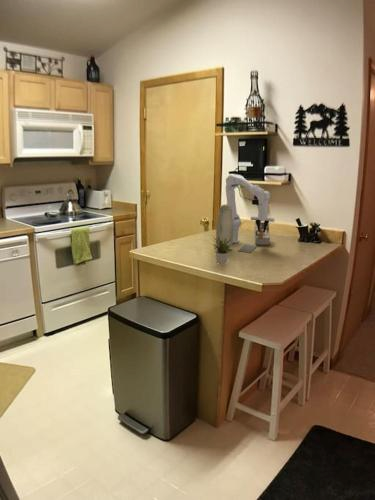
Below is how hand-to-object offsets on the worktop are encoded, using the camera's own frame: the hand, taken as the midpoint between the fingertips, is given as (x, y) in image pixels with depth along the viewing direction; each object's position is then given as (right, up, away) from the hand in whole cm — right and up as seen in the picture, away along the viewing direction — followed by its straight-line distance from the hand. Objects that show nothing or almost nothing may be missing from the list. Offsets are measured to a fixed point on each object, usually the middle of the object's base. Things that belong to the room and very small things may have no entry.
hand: (261, 232), depth 253 cm
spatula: (0, -2, +1) cm, 2 cm away
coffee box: (+2, -6, +8) cm, 10 cm away
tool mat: (-9, -10, 0) cm, 13 cm away
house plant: (-29, -18, -33) cm, 48 cm away
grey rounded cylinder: (-24, -11, -3) cm, 27 cm away
